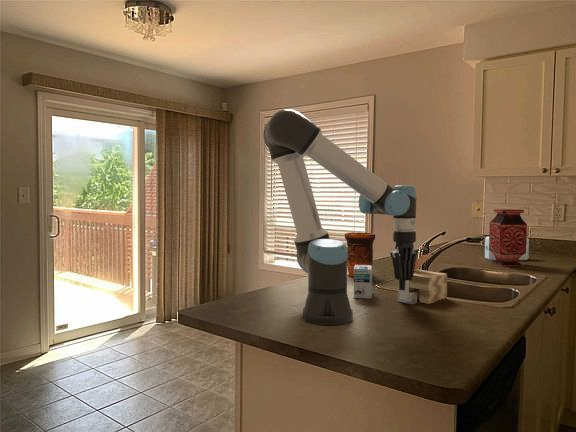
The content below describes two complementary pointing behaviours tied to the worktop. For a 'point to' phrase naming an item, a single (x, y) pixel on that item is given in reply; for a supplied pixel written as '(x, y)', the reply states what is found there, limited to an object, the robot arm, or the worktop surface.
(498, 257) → the vase
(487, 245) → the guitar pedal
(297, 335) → the worktop surface
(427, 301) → the block
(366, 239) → the vessel
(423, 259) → the keeper tab
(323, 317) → the robot arm
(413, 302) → the grey t-shaped bar
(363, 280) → the light bulb box
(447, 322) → the worktop surface
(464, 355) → the worktop surface
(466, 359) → the worktop surface
